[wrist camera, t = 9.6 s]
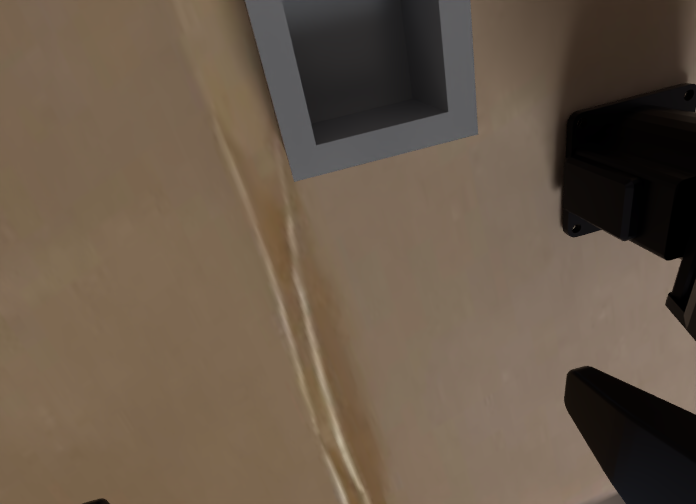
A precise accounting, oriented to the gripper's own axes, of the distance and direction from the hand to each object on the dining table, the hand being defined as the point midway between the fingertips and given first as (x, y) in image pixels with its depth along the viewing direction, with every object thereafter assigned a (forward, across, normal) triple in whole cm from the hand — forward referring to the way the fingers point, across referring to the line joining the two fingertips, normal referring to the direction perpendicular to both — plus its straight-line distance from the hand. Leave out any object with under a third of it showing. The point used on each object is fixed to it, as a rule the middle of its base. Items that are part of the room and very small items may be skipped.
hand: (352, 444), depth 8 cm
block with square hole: (+13, -3, -6) cm, 15 cm away
